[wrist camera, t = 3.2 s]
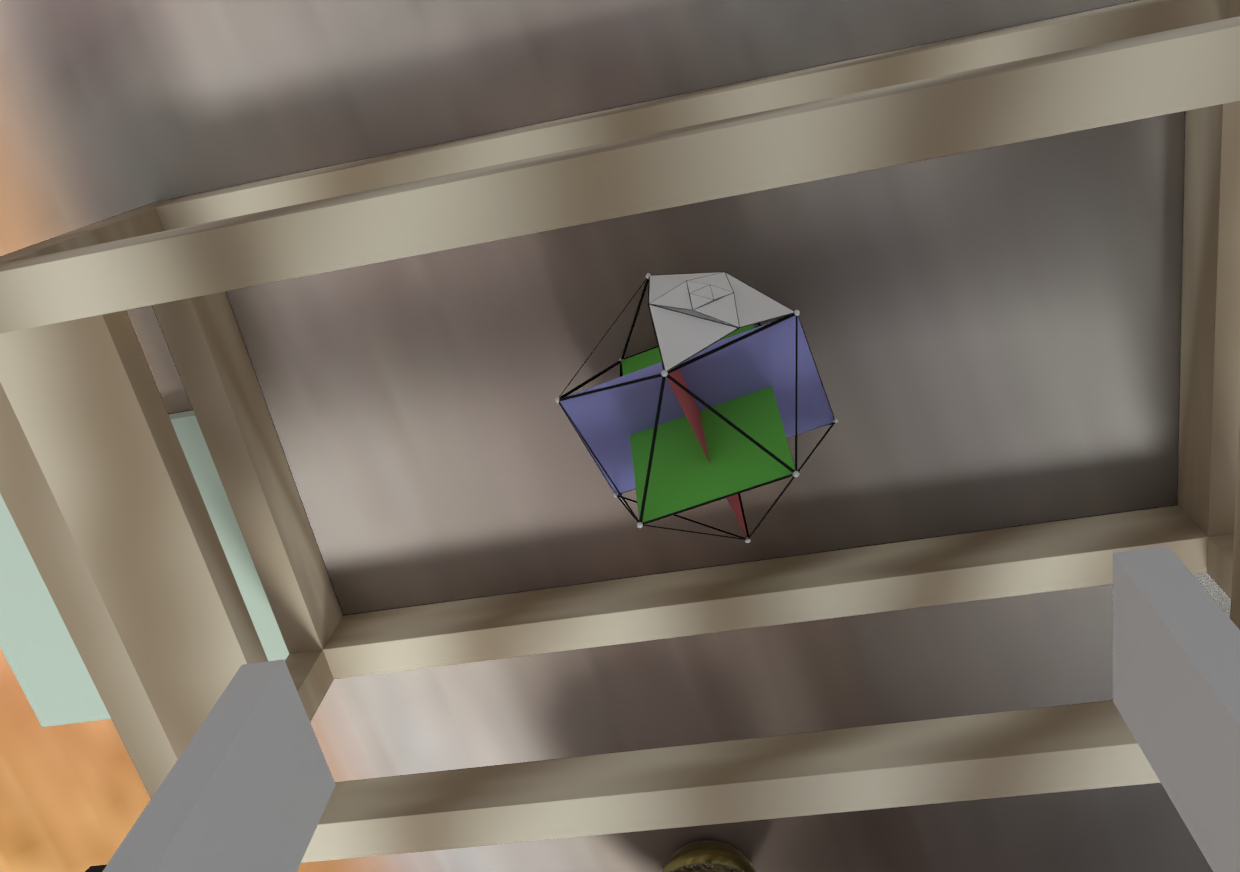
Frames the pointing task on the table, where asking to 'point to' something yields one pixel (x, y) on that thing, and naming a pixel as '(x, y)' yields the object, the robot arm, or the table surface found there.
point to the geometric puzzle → (703, 399)
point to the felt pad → (37, 637)
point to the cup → (708, 858)
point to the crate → (617, 609)
